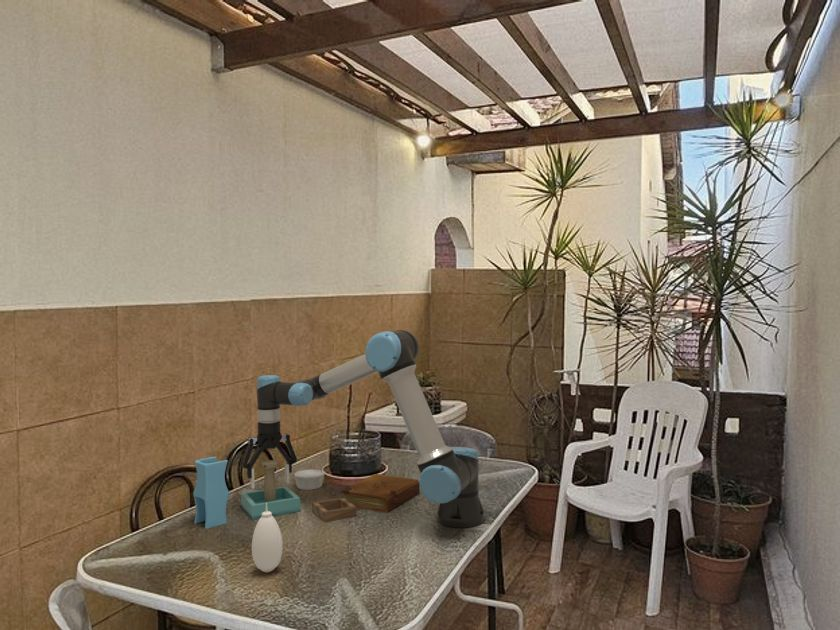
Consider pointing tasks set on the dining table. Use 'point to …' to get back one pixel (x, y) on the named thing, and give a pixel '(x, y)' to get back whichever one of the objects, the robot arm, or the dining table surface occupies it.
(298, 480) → the ramekin
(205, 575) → the dining table surface
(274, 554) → the white air blower bulb
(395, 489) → the diary
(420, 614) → the dining table surface
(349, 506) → the socket
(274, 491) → the handle
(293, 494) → the parts tray
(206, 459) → the blue tall hollow block
